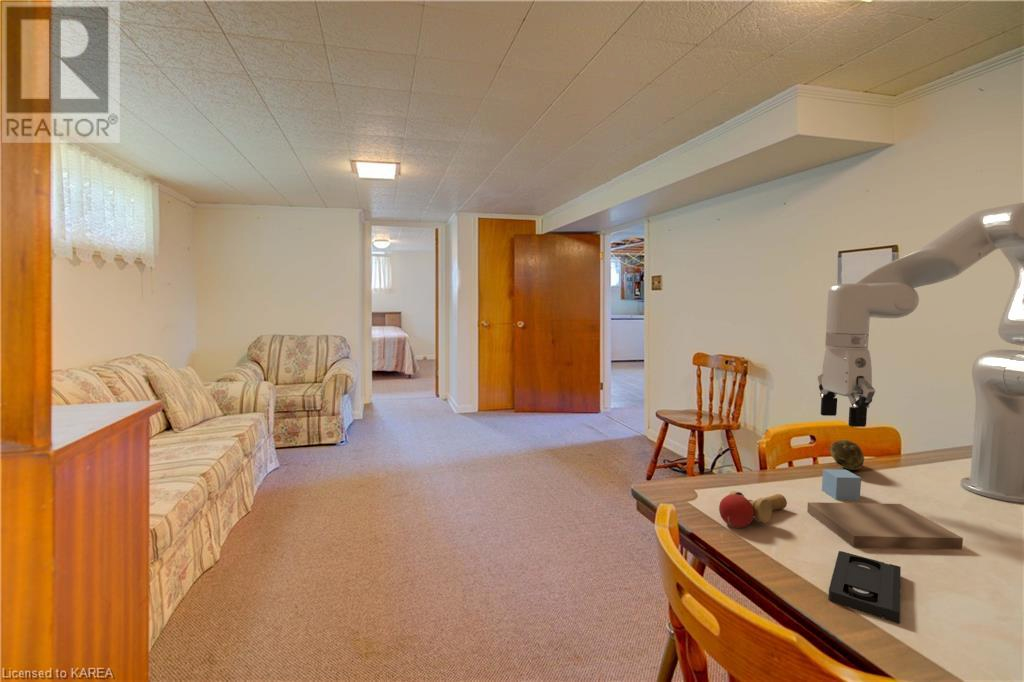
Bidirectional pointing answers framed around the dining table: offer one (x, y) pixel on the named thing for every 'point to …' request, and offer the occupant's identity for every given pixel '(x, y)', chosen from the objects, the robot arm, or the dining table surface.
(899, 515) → the board
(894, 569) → the vhs tape
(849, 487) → the cube
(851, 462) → the potato
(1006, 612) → the dining table surface
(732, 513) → the kendama
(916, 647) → the dining table surface
